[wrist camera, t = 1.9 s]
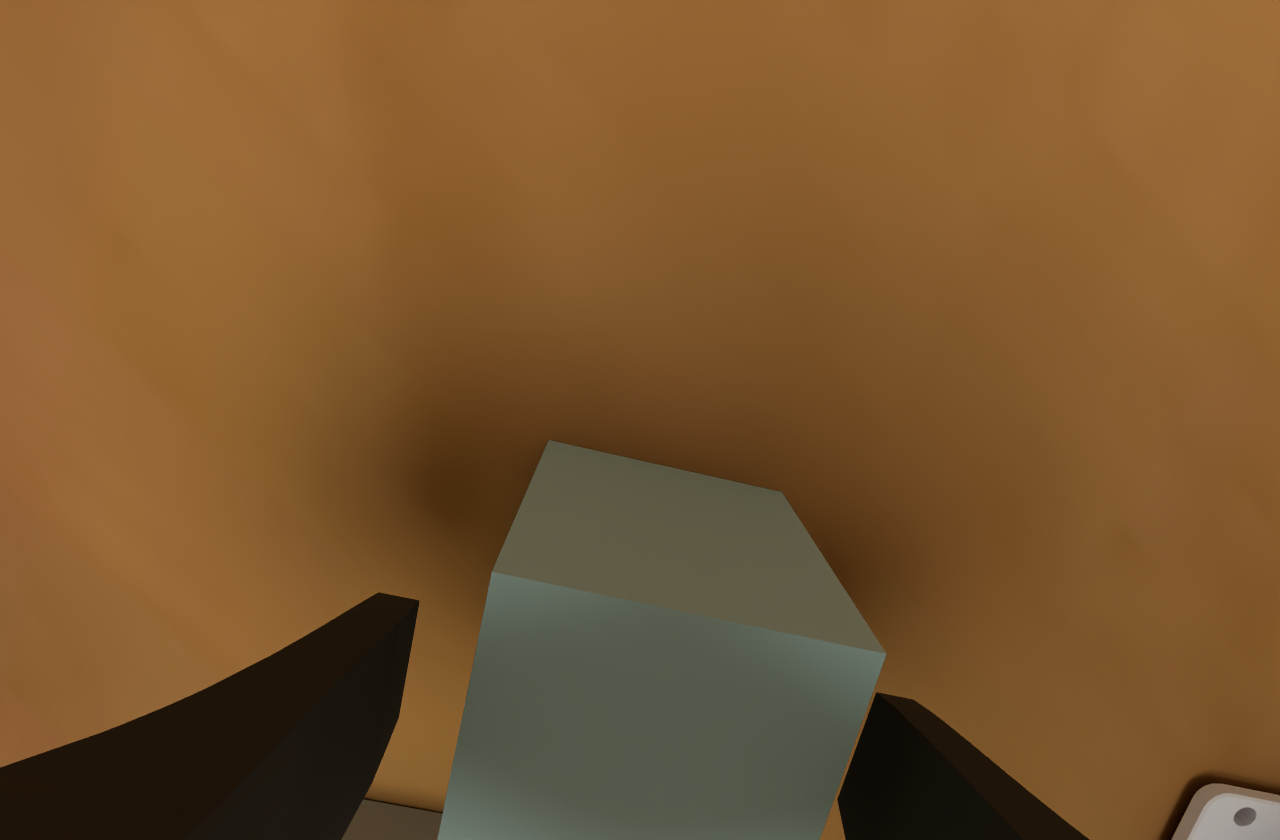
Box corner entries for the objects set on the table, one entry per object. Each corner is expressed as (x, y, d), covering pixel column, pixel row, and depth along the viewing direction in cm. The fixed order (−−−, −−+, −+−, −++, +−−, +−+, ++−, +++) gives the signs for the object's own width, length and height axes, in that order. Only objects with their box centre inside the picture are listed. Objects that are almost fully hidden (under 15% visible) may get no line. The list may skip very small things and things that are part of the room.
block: (781, 491, 14) (886, 654, 8) (720, 693, 15) (776, 959, 10) (549, 439, 14) (491, 571, 8) (503, 650, 15) (424, 899, 9)
